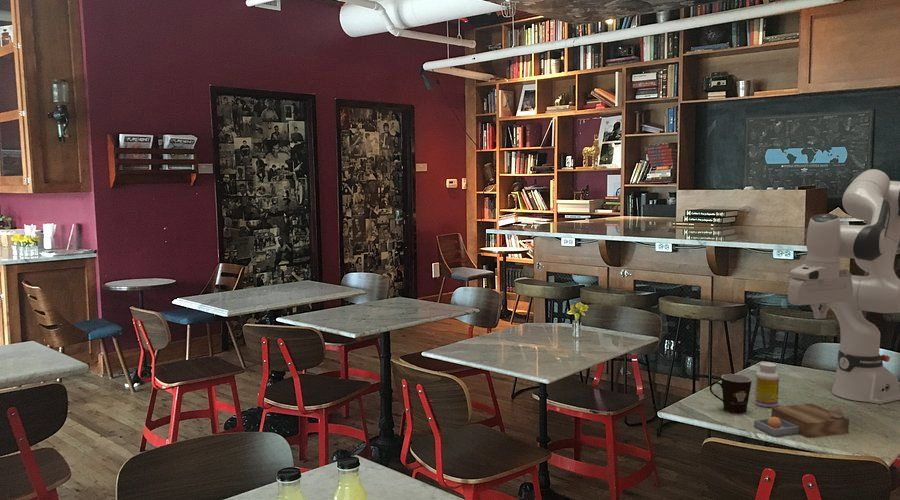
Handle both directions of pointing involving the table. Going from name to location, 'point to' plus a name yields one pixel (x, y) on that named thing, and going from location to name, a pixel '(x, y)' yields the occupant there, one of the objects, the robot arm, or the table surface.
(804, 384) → the table surface
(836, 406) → the cream ball
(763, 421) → the dish
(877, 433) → the table surface
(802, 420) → the wooden cutting board
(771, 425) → the ball
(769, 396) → the supplement bottle
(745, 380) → the coffee mug
